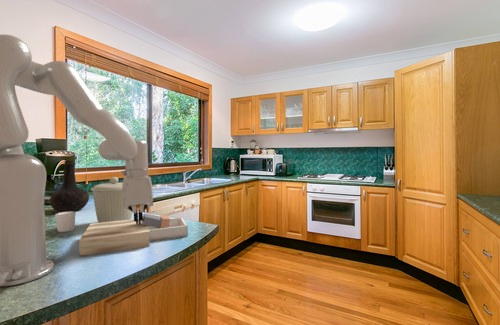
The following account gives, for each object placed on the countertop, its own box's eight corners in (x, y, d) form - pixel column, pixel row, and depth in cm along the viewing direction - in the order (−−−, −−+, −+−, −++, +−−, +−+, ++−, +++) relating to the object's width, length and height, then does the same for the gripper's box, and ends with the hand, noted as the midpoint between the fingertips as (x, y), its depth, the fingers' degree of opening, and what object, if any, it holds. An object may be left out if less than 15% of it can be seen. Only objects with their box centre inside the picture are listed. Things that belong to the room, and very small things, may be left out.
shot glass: (65, 232, 101) (64, 215, 101) (51, 231, 103) (50, 214, 102) (80, 227, 108) (79, 211, 108) (66, 226, 109) (66, 210, 109)
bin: (187, 236, 96) (187, 225, 96) (149, 241, 91) (149, 230, 90) (181, 226, 109) (181, 217, 109) (148, 230, 103) (148, 220, 103)
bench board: (149, 246, 86) (149, 231, 86) (79, 256, 78) (79, 240, 78) (147, 229, 104) (147, 217, 104) (90, 236, 96) (90, 223, 96)
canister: (96, 220, 120) (95, 176, 119) (138, 216, 126) (137, 174, 125) (87, 231, 103) (85, 179, 102) (135, 226, 109) (134, 178, 108)
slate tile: (159, 228, 94) (161, 220, 94) (142, 224, 91) (145, 216, 92) (157, 223, 99) (159, 216, 100) (141, 220, 97) (143, 213, 97)
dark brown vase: (51, 216, 128) (49, 161, 127) (48, 210, 141) (46, 160, 140) (92, 210, 140) (91, 160, 139) (86, 205, 153) (84, 159, 152)
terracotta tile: (159, 234, 94) (167, 235, 95) (162, 218, 94) (170, 219, 95) (157, 230, 99) (165, 230, 100) (160, 215, 99) (168, 215, 101)
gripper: (113, 175, 86) (114, 228, 87) (159, 173, 92) (160, 223, 93) (114, 173, 93) (116, 222, 94) (157, 172, 99) (158, 218, 100)
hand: (138, 222), depth 93 cm, fingers closed
